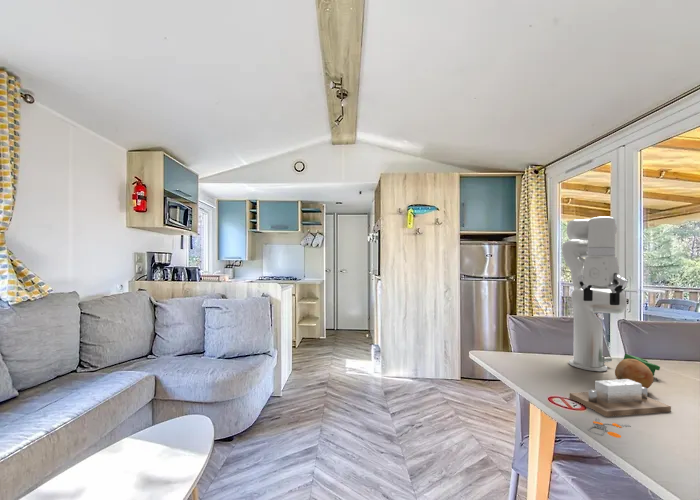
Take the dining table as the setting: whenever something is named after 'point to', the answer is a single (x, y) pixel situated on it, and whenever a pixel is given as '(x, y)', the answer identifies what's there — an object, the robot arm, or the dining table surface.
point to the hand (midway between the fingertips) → (600, 302)
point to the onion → (634, 372)
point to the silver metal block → (618, 391)
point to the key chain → (600, 426)
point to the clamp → (649, 365)
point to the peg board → (620, 404)
